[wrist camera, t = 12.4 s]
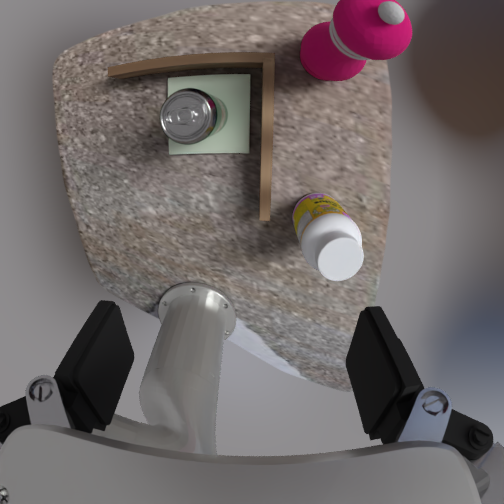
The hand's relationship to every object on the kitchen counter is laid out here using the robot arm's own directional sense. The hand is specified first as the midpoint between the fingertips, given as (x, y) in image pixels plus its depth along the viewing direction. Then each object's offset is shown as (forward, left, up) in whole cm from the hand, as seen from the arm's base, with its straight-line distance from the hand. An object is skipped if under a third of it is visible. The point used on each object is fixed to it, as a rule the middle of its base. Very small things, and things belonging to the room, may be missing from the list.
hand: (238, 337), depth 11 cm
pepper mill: (+16, -9, -28) cm, 34 cm away
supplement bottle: (-5, -9, -28) cm, 30 cm away
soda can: (+8, +5, -28) cm, 30 cm away
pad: (+8, +5, -28) cm, 30 cm away
